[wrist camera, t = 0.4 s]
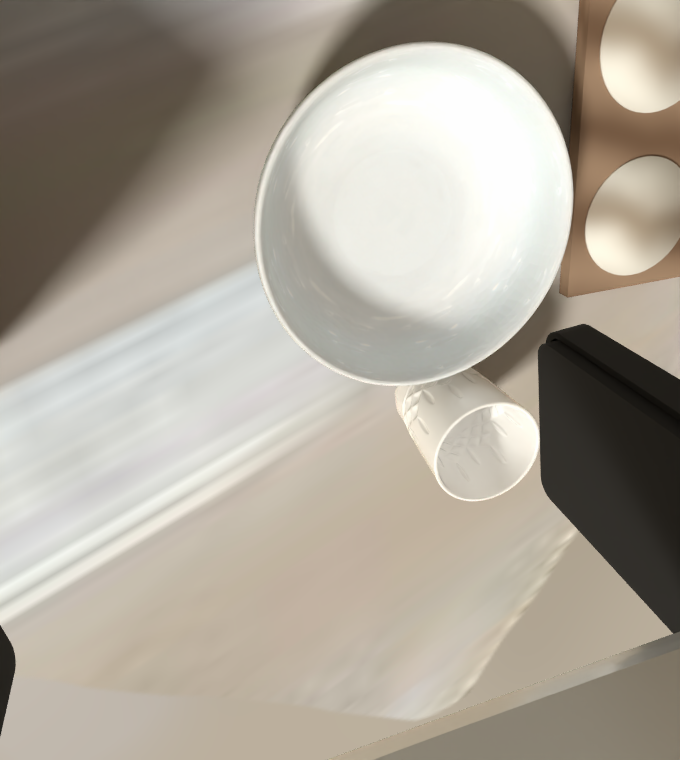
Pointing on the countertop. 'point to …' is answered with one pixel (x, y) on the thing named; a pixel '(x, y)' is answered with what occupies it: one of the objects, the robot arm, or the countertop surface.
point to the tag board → (624, 147)
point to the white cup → (470, 434)
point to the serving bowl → (413, 213)
